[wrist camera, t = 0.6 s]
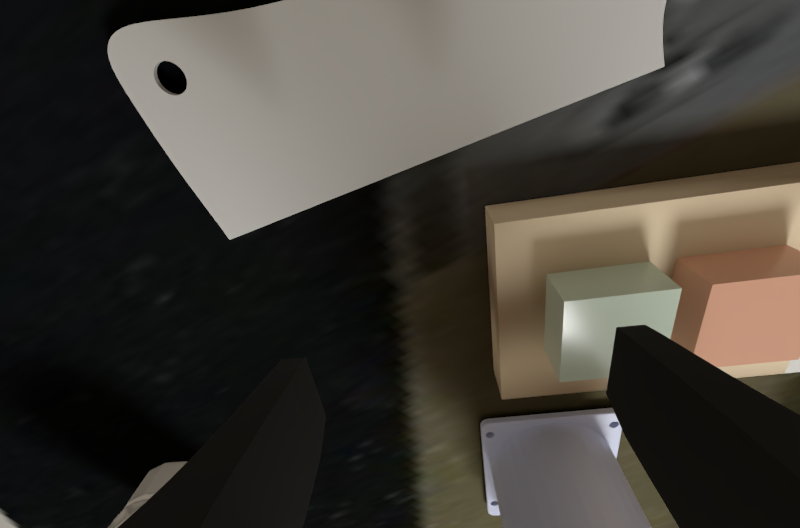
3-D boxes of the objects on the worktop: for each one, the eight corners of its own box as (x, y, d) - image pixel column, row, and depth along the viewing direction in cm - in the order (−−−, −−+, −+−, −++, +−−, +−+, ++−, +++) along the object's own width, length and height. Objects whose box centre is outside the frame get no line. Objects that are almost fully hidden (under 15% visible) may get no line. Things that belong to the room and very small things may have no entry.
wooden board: (750, 344, 19) (784, 373, 18) (493, 370, 21) (501, 399, 19) (817, 159, 15) (872, 172, 13) (484, 205, 16) (494, 223, 14)
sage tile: (636, 339, 17) (662, 372, 15) (544, 349, 17) (559, 382, 15) (650, 261, 15) (681, 288, 13) (546, 273, 15) (564, 301, 14)
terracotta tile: (756, 327, 16) (798, 359, 15) (659, 337, 17) (689, 369, 15) (786, 244, 14) (839, 270, 13) (676, 258, 15) (712, 284, 13)
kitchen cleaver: (246, 280, 18) (67, 50, 12) (257, 259, 19) (101, 45, 14) (1104, -15, 12) (1488, -699, 6) (1027, -13, 13) (1291, -574, 8)
